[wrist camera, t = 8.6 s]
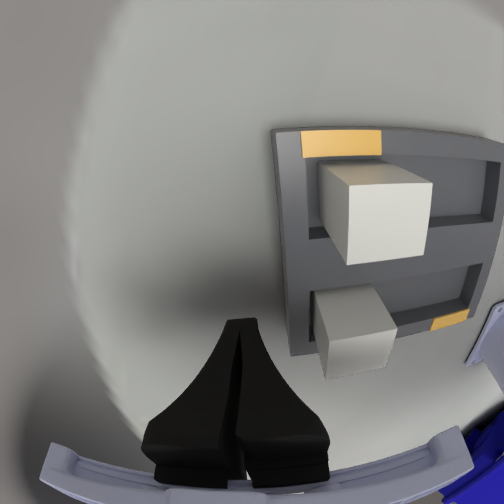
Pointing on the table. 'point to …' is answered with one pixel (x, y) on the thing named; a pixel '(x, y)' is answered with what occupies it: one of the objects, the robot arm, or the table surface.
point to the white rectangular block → (373, 209)
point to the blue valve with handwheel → (481, 468)
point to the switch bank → (403, 269)
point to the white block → (351, 330)
